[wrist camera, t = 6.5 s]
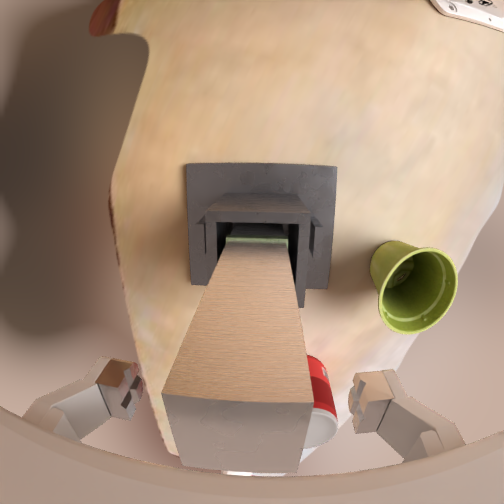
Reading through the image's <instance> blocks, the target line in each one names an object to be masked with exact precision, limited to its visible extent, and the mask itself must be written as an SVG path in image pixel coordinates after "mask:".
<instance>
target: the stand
mask: <svg viewBox="0 0 504 504" xmlns="http://www.w3.org/2000/svg"><path fill="white" fill-rule="evenodd" d="M186 171H187V212H188V236H189V255H190V271H191V285H208V283H209V281H210V279H211V276H212V274H213V272H214V270H215V267H216V265H217V263H218V261H219V259H220V256H221V254H222V252H223V250H224V248H225V245H226V236H227V235H230V234H231V232H232V230H233V228H234V226H235V224H236V223H275V224H282V225H283V229H284V234H285V236H288V254H289V260H290V265H291V270H292V275H293V280H294V286H295V291H296V297H297V302H298V308H304V299H305V289H327V288H328V279H329V270H330V261H331V251H332V240H333V228H334V215H335V201H336V183H337V167H336V166H322V165H304V164H281V163H189V164H186Z"/></svg>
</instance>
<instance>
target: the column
mask: <svg viewBox="0 0 504 504" xmlns="http://www.w3.org/2000/svg"><path fill="white" fill-rule="evenodd" d="M161 394H162V398H163V402H164V405H165V409H166V413H167V416H168V420H169V424H170V427H171V431H172V434H173V437H174V441H175V444H176V447H177V450H178V453H179V456H180V459H181V462H182V465H183V466H189V467H197V468H204V469H213V470H223V471H235V472H252V473H297V470H298V466H299V462H300V459H301V455H302V451H303V447H304V443H305V439H306V435H307V431H308V427H309V422H310V418H311V414H312V409H313V405H314V398H313V392H312V385H311V379H310V372H309V366H308V360H307V354H306V348H305V342H304V336H303V330H302V324H301V319H300V313H299V308H298V302H297V297H296V291H295V286H294V280H293V275H292V270H291V265H290V260H289V254H288V236H285V234H284V229H283V225H282V224H275V223H236V224H235V226H234V228H233V230H232V232H231V234H230V235H227V236H226V245H225V248H224V250H223V252H222V254H221V256H220V259H219V261H218V263H217V265H216V267H215V270H214V272H213V274H212V276H211V279H210V281H209V283H208V285H207V288H206V290H205V292H204V294H203V297H202V299H201V301H200V303H199V306H198V308H197V310H196V312H195V315H194V317H193V319H192V322H191V324H190V326H189V329H188V331H187V333H186V336H185V338H184V340H183V343H182V345H181V347H180V350H179V352H178V354H177V357H176V359H175V361H174V364H173V366H172V368H171V371H170V373H169V376H168V378H167V380H166V383H165V385H164V388H163V390H162V392H161Z"/></svg>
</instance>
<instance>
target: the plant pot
mask: <svg viewBox="0 0 504 504" xmlns="http://www.w3.org/2000/svg"><path fill="white" fill-rule="evenodd" d="M370 274H371V277H372V280H373V282H374V284H375V287H376V289H377V292H378V294H379V296H378V309H379V313H380V316H381V318H382V320H383V322H384V323H385V325H386V326H387V327H388V328H389V329H391V330H392V331H394V332H397V333H400V334H416V333H419V332H422V331H425V330H427V329H429V328H430V327H432V326H433V325H435V324H436V323H437V322H438V321H439V320H440V319H441V318H442V317H443V316H444V315H445V314H446V312H447V311H448V309H449V307H450V306H451V304H452V302H453V300H454V298H455V294H456V291H457V284H458V278H457V270H456V267H455V265H454V263H453V261H452V259H451V258H450V257H449V256H448V255H447V254H446V253H444V252H443V251H441V250H439V249H435V248H428V247H427V248H417V247H414V246H411V245H408V244H406V243H403V242H400V241H390V242H387V243H385V244H383V245H381V246H380V247H379V248H378V249H377V250H376V251H375V253H374V254H373V256H372V259H371V264H370ZM404 274H405V275H404ZM402 275H404V277H403V278H402V279H401V280H399V281H397V279H398V278H400V277H401V276H402Z"/></svg>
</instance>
